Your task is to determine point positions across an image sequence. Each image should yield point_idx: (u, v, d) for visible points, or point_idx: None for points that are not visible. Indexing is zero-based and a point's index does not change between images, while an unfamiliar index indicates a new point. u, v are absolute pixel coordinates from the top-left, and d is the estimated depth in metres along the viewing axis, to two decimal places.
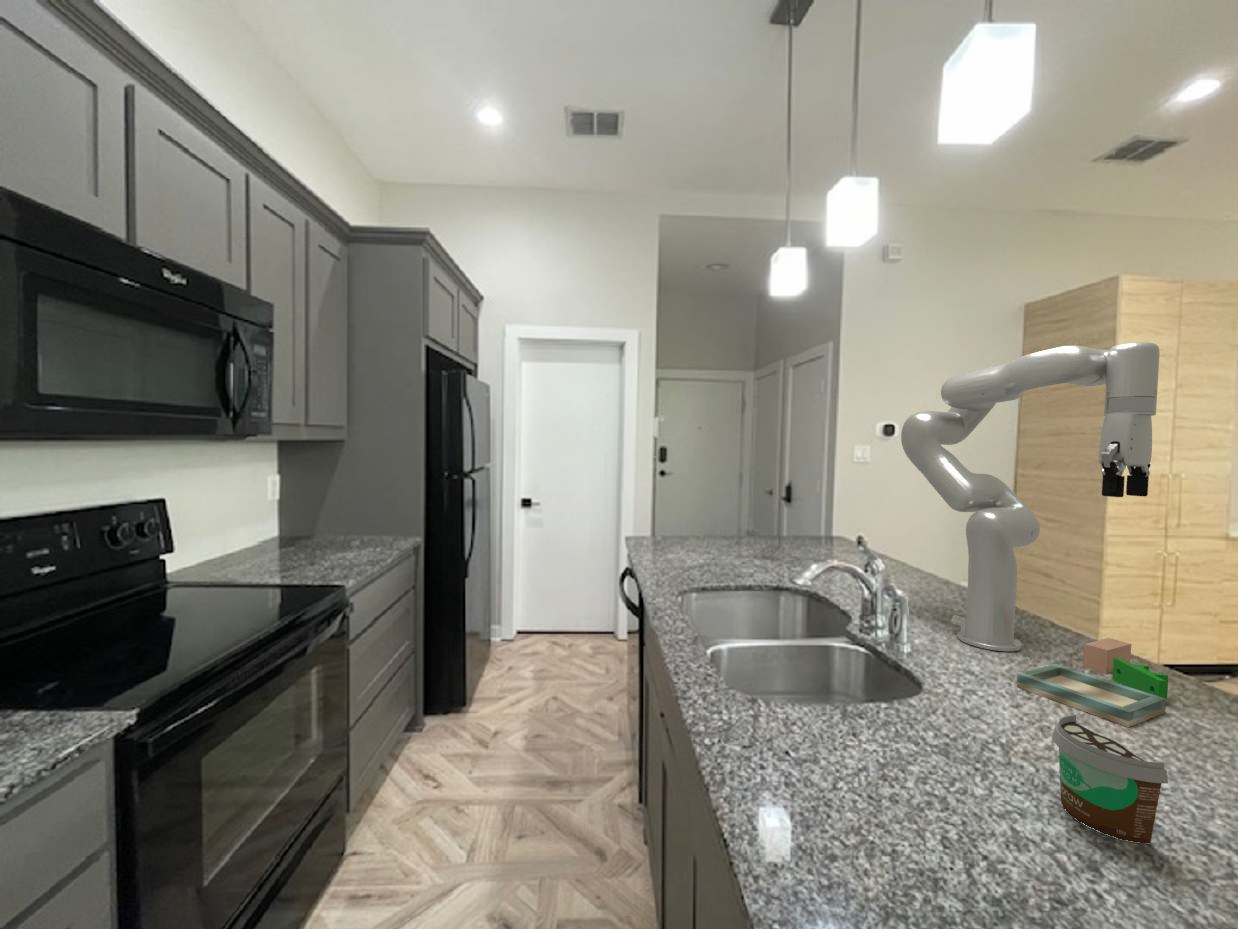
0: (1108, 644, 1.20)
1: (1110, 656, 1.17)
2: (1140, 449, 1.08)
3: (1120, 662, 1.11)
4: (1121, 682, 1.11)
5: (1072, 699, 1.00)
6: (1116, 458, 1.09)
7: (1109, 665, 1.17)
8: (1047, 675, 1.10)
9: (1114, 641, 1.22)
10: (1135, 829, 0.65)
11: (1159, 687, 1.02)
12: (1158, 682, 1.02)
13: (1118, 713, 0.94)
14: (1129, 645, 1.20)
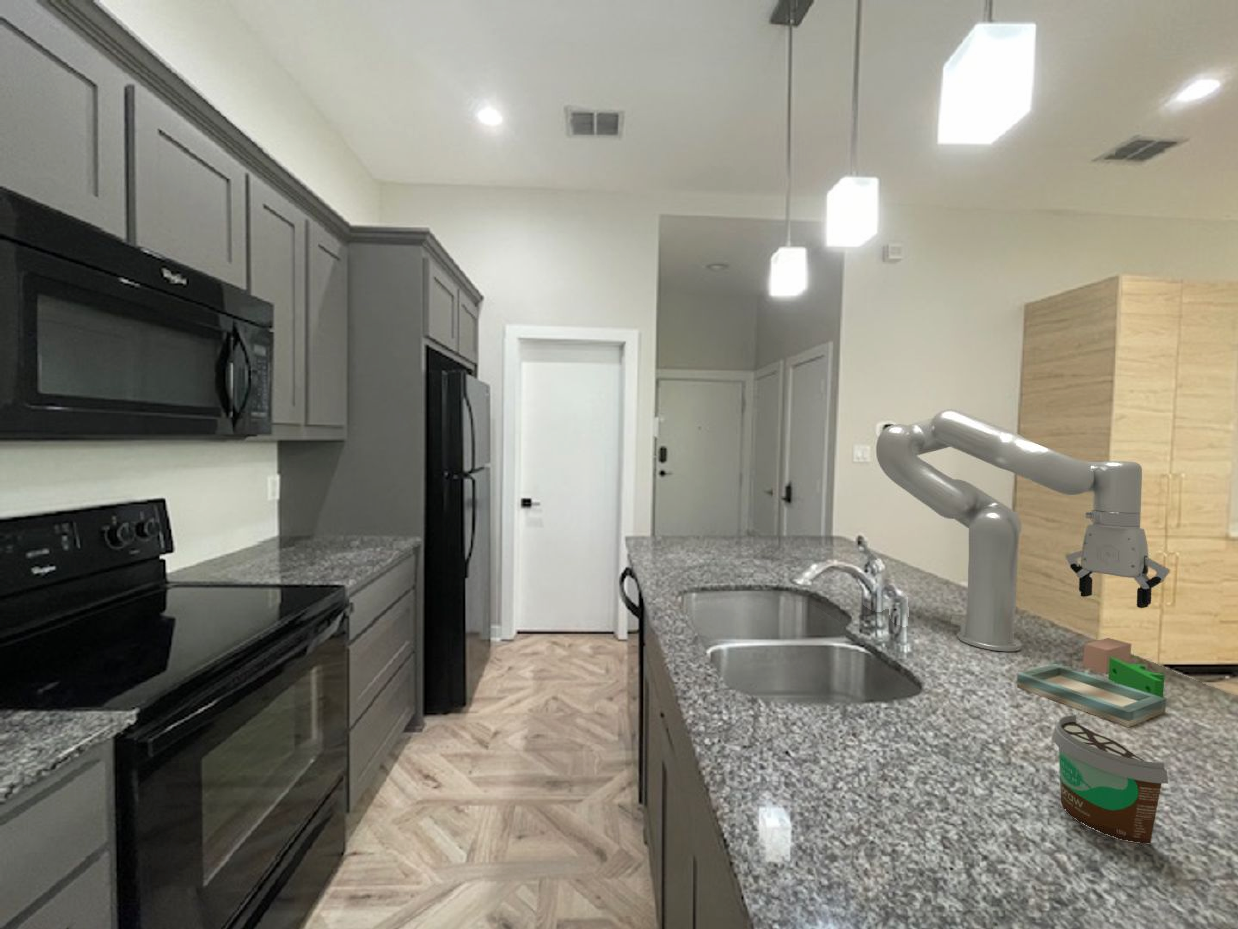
0: (1108, 644, 1.20)
1: (1110, 656, 1.17)
2: None
3: (1116, 662, 1.12)
4: (1117, 682, 1.11)
5: (1072, 699, 1.00)
6: None
7: None
8: (1047, 675, 1.10)
9: (1114, 641, 1.22)
10: (1135, 829, 0.65)
11: (1155, 687, 1.02)
12: (1154, 682, 1.03)
13: (1118, 713, 0.94)
14: (1129, 645, 1.20)
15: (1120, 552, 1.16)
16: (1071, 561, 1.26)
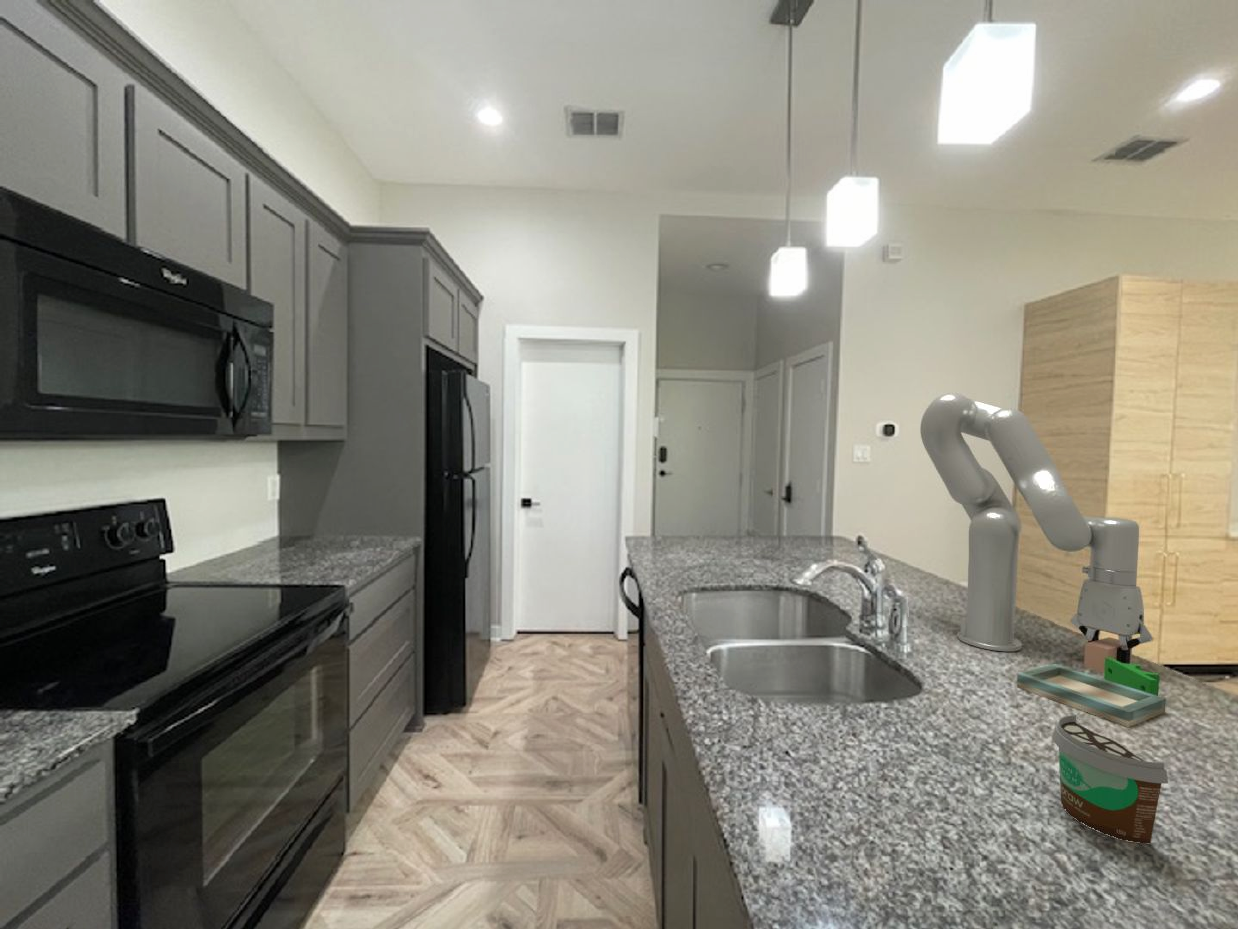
0: (1109, 643, 1.20)
1: (1111, 655, 1.17)
2: None
3: (1112, 661, 1.12)
4: (1113, 681, 1.11)
5: (1072, 699, 1.00)
6: None
7: None
8: (1047, 675, 1.10)
9: (1115, 640, 1.22)
10: (1135, 829, 0.65)
11: (1150, 686, 1.02)
12: (1149, 681, 1.03)
13: (1118, 713, 0.94)
14: None
15: (1116, 610, 1.17)
16: (1077, 623, 1.25)
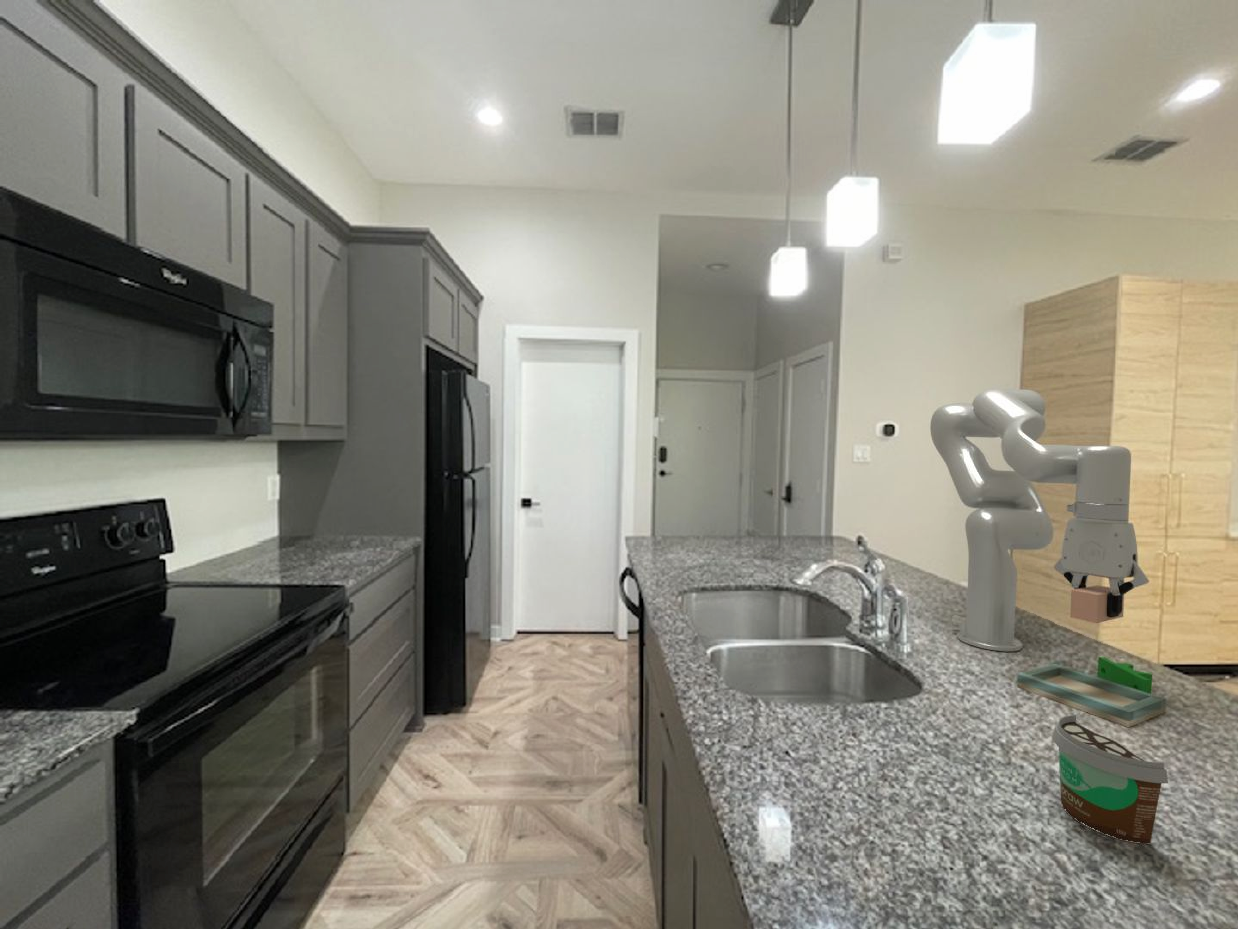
0: (1098, 590, 1.04)
1: (1101, 602, 1.01)
2: None
3: (1105, 661, 1.12)
4: None
5: (1072, 699, 1.00)
6: None
7: (1100, 612, 1.01)
8: (1047, 675, 1.10)
9: (1105, 588, 1.06)
10: (1135, 829, 0.65)
11: (1142, 686, 1.03)
12: (1142, 681, 1.03)
13: (1118, 713, 0.94)
14: None
15: (1106, 550, 1.01)
16: (1062, 570, 1.09)
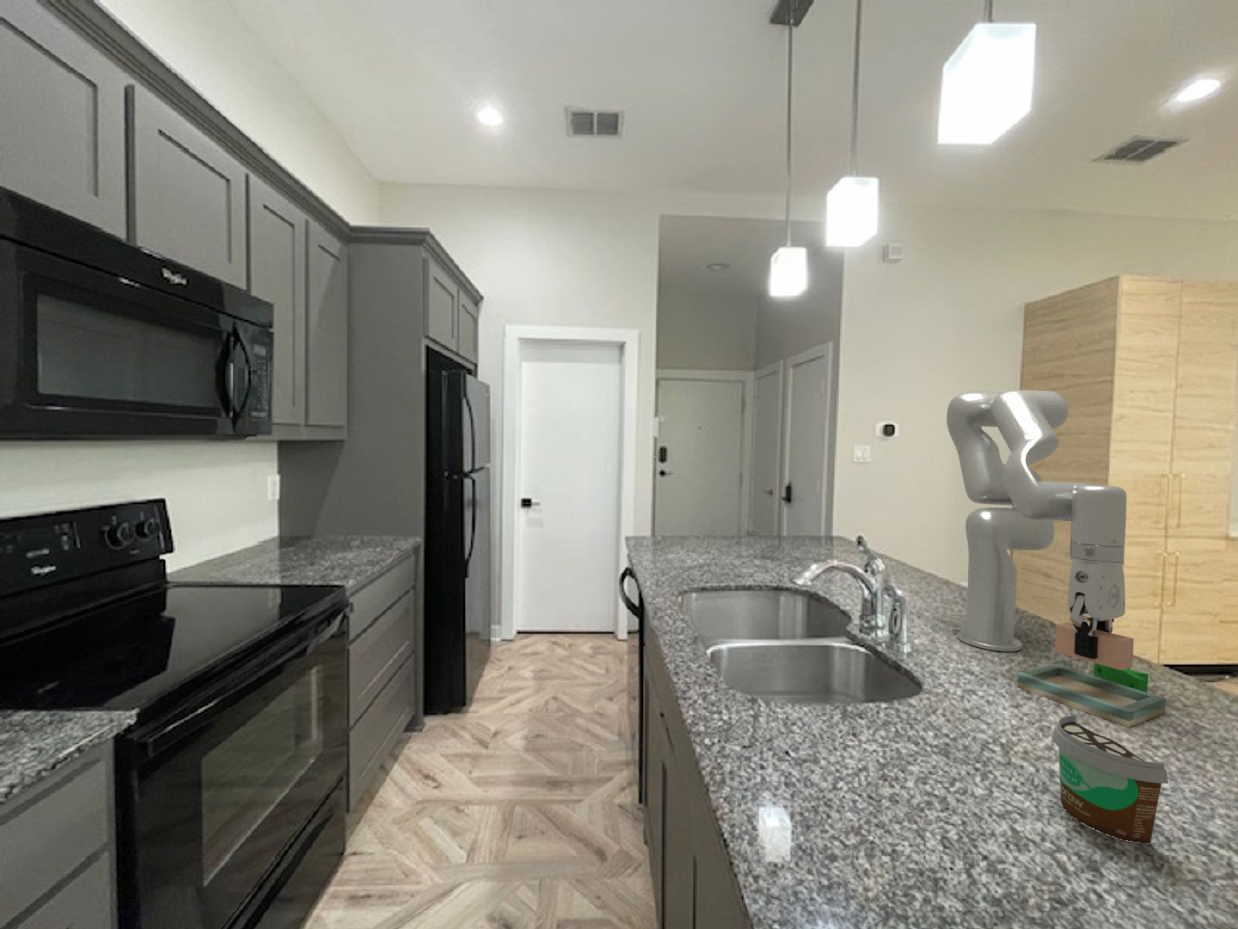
0: (1096, 631, 1.03)
1: None
2: None
3: None
4: None
5: (1072, 699, 1.00)
6: None
7: None
8: (1047, 675, 1.10)
9: (1071, 626, 1.06)
10: (1135, 829, 0.65)
11: (1138, 685, 1.03)
12: (1138, 681, 1.03)
13: (1118, 713, 0.94)
14: None
15: (1119, 591, 1.01)
16: (1081, 621, 1.00)
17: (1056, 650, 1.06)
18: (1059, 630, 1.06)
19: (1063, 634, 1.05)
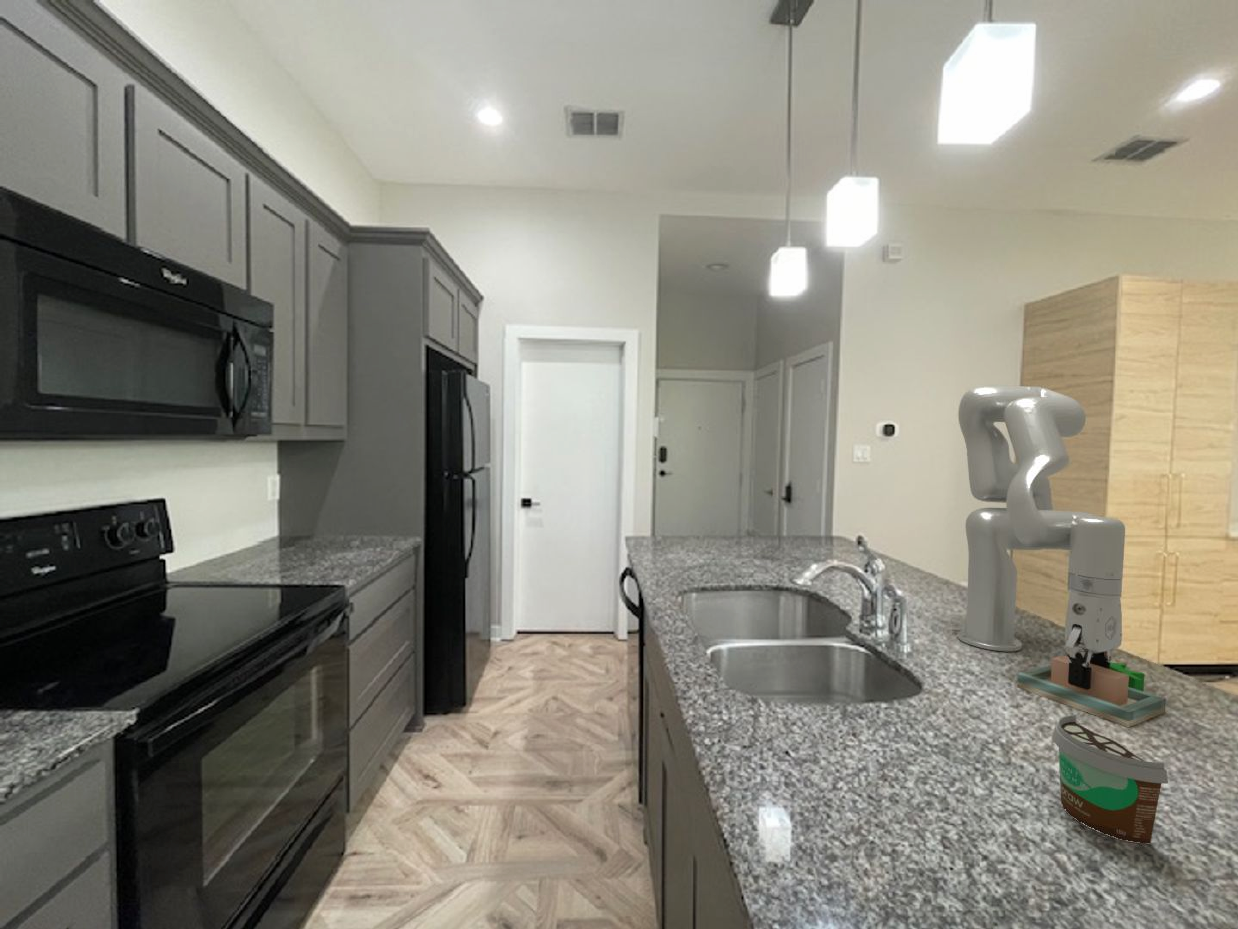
0: (1092, 667, 1.03)
1: None
2: None
3: None
4: None
5: (1072, 699, 1.00)
6: None
7: None
8: (1047, 675, 1.10)
9: (1067, 660, 1.06)
10: (1135, 829, 0.65)
11: (1135, 685, 1.03)
12: (1134, 681, 1.03)
13: (1118, 713, 0.94)
14: None
15: (1116, 622, 1.02)
16: (1076, 651, 1.00)
17: None
18: (1055, 664, 1.07)
19: (1058, 668, 1.06)
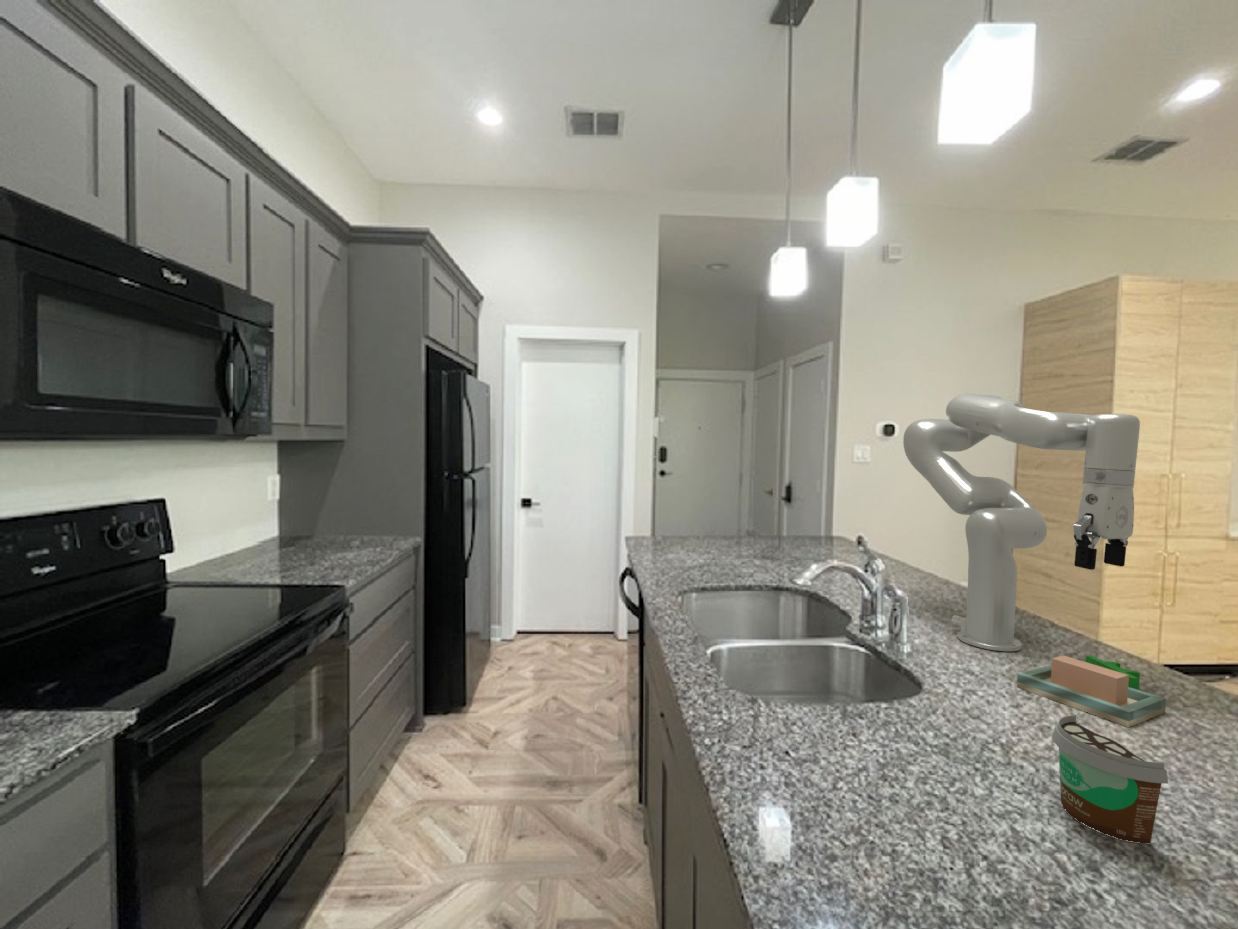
0: (1092, 667, 1.03)
1: None
2: None
3: (1093, 660, 1.12)
4: None
5: (1072, 699, 1.00)
6: None
7: None
8: (1047, 675, 1.10)
9: (1067, 660, 1.06)
10: (1135, 829, 0.65)
11: (1131, 684, 1.03)
12: (1131, 680, 1.03)
13: (1118, 713, 0.94)
14: None
15: (1128, 513, 1.08)
16: (1083, 531, 1.07)
17: None
18: (1055, 664, 1.07)
19: (1058, 668, 1.06)
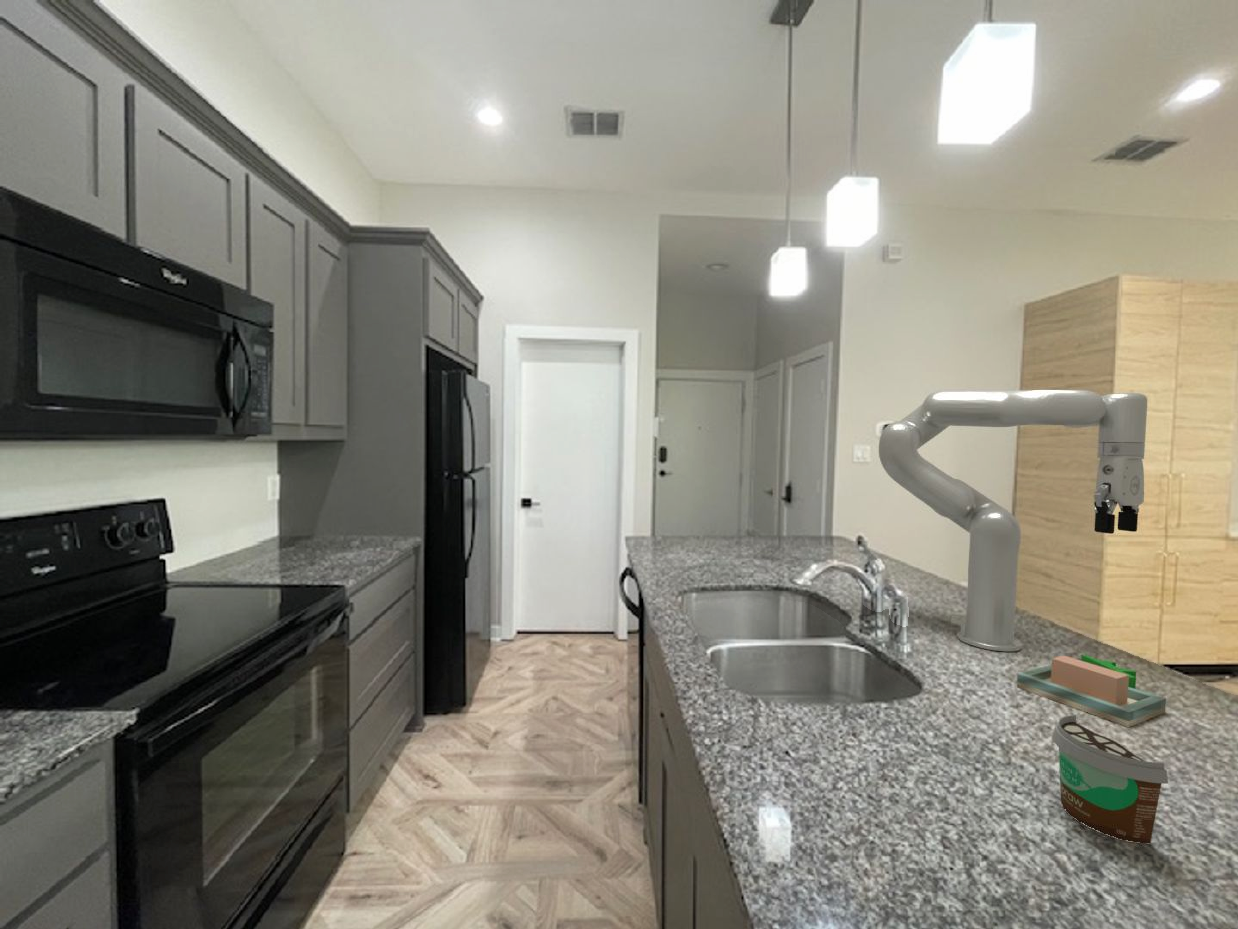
0: (1092, 667, 1.03)
1: None
2: None
3: (1088, 659, 1.13)
4: None
5: (1072, 699, 1.00)
6: None
7: None
8: (1047, 675, 1.10)
9: (1067, 660, 1.06)
10: (1135, 829, 0.65)
11: (1129, 684, 1.03)
12: None
13: (1118, 713, 0.94)
14: None
15: (1139, 482, 1.20)
16: (1102, 498, 1.18)
17: None
18: (1055, 664, 1.07)
19: (1058, 668, 1.06)
